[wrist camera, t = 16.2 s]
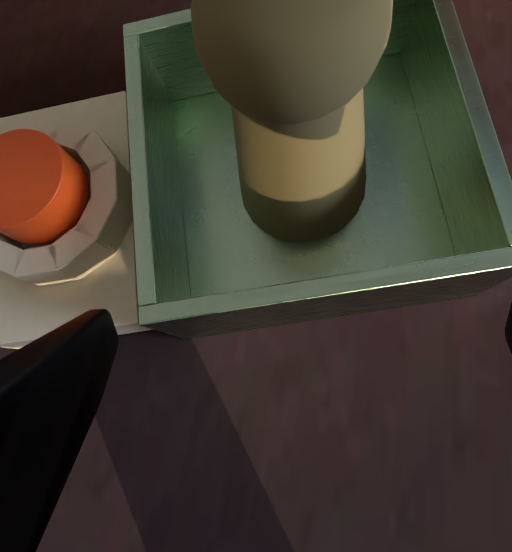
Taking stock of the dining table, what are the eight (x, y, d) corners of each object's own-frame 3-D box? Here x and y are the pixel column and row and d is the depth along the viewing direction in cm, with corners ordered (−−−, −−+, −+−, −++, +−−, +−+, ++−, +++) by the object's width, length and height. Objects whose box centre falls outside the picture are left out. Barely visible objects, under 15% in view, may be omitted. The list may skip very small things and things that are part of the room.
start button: (90, 235, 17) (62, 217, 15) (-5, 252, 18) (-42, 237, 16) (88, 145, 18) (62, 118, 17) (-1, 163, 19) (-36, 139, 17)
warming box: (477, 295, 18) (539, 263, 13) (184, 339, 19) (138, 325, 14) (407, 49, 21) (435, -51, 16) (164, 101, 23) (121, 23, 18)
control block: (159, 328, 20) (122, 316, 16) (20, 350, 20) (-49, 343, 17) (145, 116, 23) (111, 63, 19) (25, 142, 24) (-32, 95, 20)
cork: (387, 215, 19) (479, 1, 8) (263, 261, 19) (196, 112, 8) (337, 110, 20) (360, -180, 10) (224, 154, 21) (128, -82, 10)
